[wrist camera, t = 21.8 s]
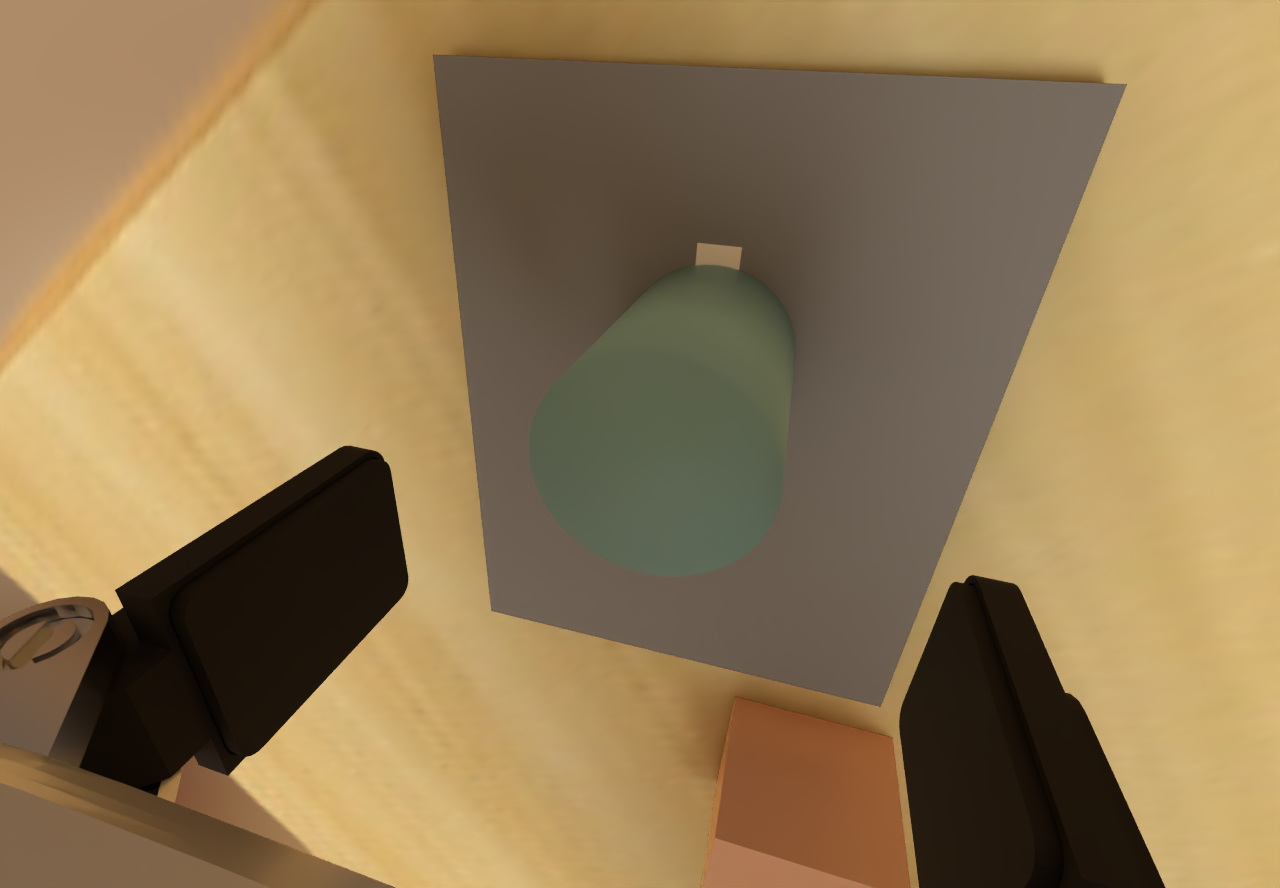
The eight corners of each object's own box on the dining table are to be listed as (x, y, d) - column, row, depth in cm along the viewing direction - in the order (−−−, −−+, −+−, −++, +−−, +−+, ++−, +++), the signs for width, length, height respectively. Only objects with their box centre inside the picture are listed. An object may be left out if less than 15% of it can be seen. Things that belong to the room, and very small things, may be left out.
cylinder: (811, 275, 15) (807, 373, 10) (779, 440, 18) (761, 599, 12) (628, 255, 16) (523, 333, 11) (622, 414, 19) (534, 549, 13)
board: (1106, 86, 13) (1127, 84, 12) (878, 685, 23) (880, 706, 22) (453, 57, 16) (432, 54, 15) (501, 594, 26) (491, 610, 25)
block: (892, 735, 24) (911, 899, 19) (854, 821, 27) (862, 980, 22) (735, 694, 25) (714, 838, 20) (716, 781, 29) (695, 923, 24)
